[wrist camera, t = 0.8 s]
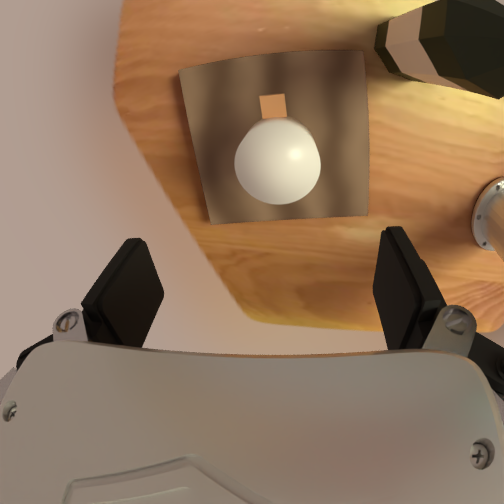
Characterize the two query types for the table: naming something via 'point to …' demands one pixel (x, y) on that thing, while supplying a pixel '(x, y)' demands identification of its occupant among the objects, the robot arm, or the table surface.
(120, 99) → the table surface
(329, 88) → the post board
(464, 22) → the wine bottle
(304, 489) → the robot arm
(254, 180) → the light bulb
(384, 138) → the table surface
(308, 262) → the table surface
